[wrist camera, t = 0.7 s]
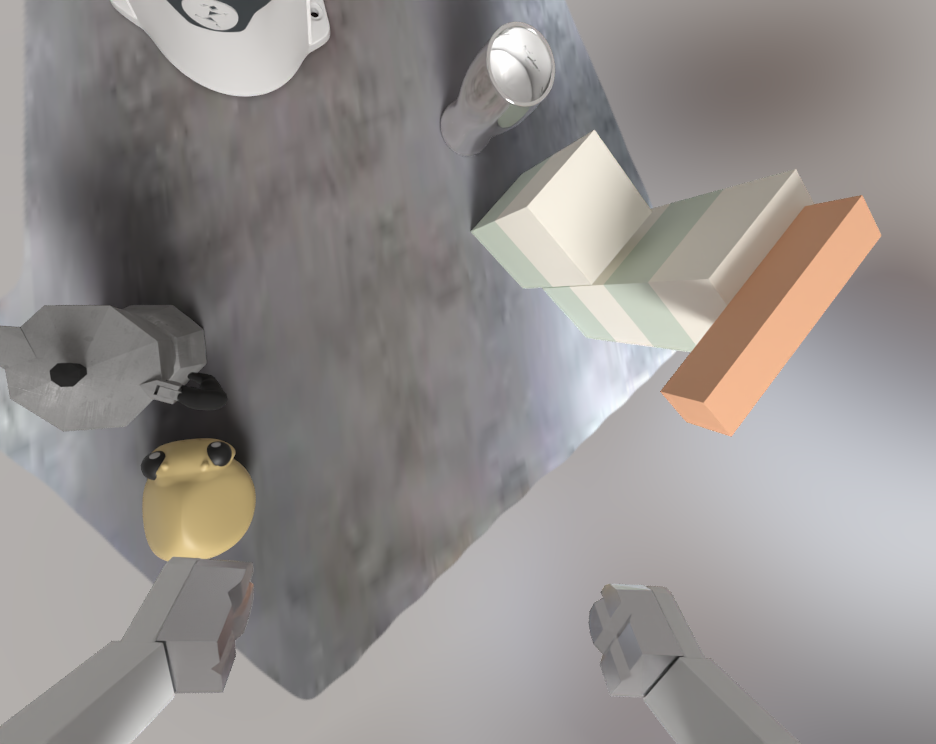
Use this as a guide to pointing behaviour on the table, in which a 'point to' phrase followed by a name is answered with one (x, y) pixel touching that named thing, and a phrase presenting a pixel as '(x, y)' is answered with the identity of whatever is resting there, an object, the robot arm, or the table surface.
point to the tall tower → (685, 265)
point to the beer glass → (499, 88)
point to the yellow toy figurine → (195, 499)
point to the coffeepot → (105, 364)
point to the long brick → (772, 314)
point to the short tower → (564, 217)
